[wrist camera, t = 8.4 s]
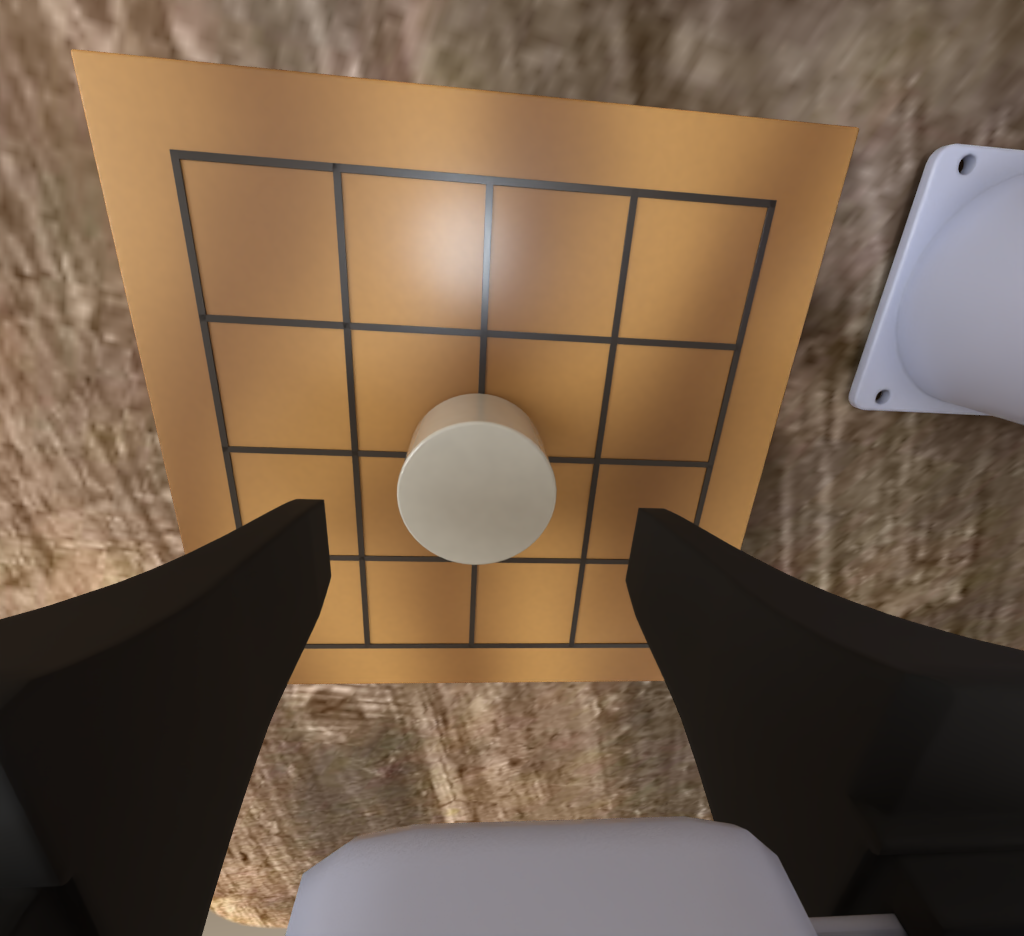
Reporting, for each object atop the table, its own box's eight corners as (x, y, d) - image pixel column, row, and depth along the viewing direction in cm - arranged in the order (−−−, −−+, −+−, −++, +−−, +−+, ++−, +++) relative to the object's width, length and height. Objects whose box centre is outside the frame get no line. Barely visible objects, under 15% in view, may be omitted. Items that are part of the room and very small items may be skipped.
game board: (831, 137, 14) (863, 126, 13) (692, 660, 22) (704, 682, 21) (103, 65, 13) (66, 46, 11) (227, 662, 20) (212, 687, 19)
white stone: (549, 395, 16) (565, 425, 13) (537, 518, 17) (549, 567, 15) (408, 389, 15) (393, 418, 12) (410, 515, 17) (398, 565, 14)
